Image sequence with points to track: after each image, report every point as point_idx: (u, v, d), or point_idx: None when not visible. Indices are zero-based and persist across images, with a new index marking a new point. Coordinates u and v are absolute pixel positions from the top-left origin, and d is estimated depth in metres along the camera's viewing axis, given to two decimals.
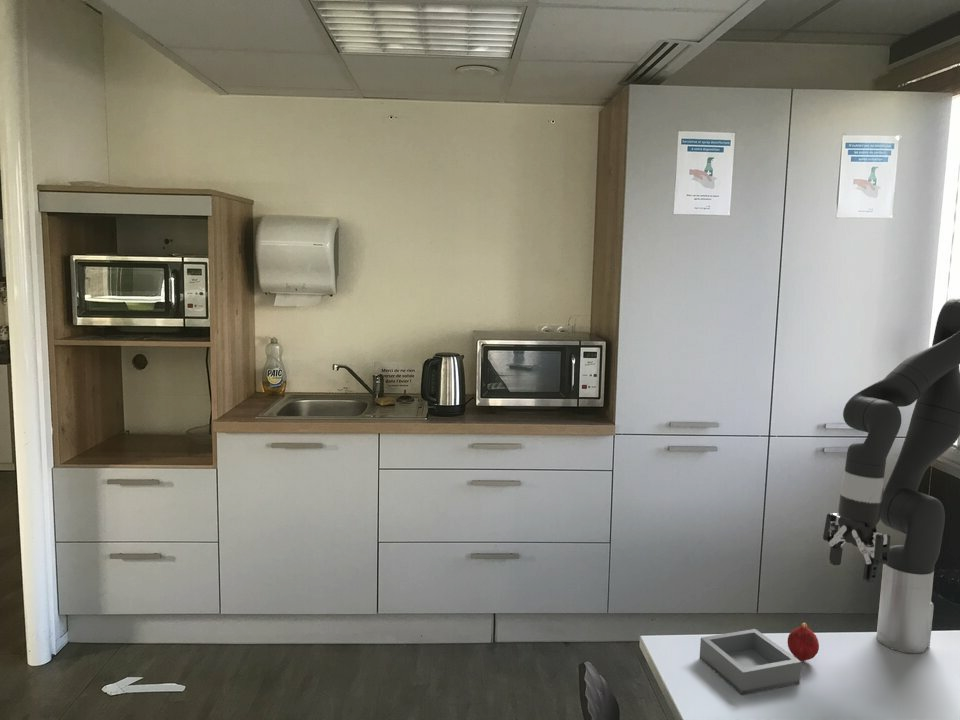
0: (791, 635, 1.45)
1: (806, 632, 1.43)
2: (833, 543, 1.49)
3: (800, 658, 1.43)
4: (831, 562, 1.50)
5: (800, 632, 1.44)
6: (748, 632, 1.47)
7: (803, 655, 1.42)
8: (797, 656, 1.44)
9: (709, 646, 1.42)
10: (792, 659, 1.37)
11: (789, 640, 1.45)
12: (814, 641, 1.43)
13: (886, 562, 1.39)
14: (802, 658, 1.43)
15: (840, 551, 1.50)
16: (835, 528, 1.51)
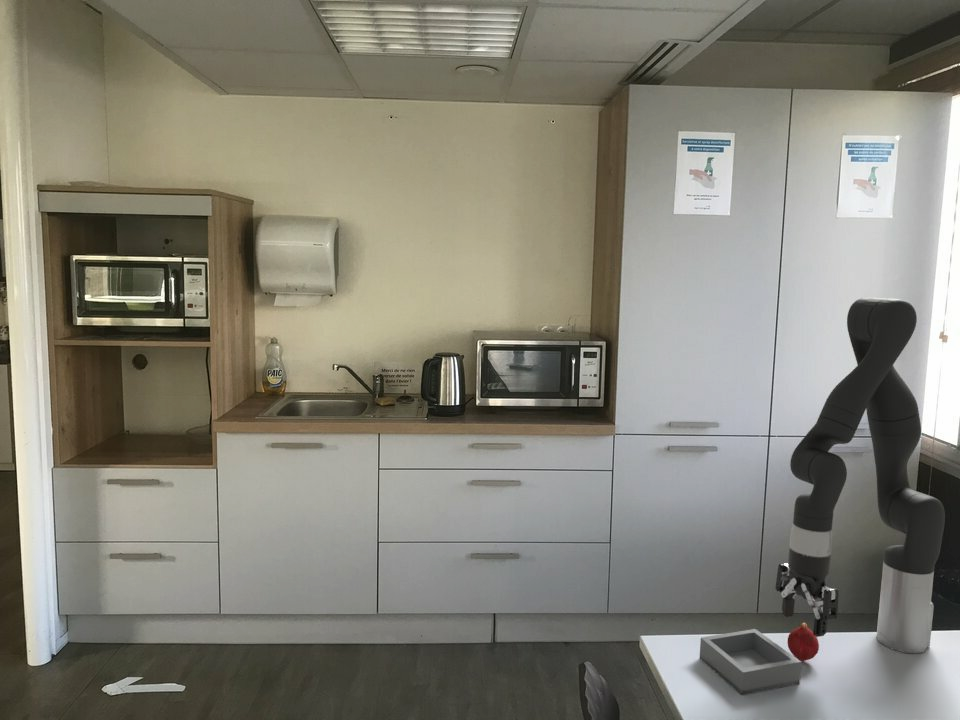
0: (791, 635, 1.45)
1: (805, 632, 1.43)
2: (785, 594, 1.47)
3: (800, 658, 1.43)
4: (783, 613, 1.48)
5: (800, 632, 1.44)
6: (748, 632, 1.47)
7: (803, 655, 1.42)
8: (797, 656, 1.44)
9: (709, 646, 1.42)
10: (792, 659, 1.37)
11: (789, 640, 1.45)
12: (814, 641, 1.43)
13: (835, 618, 1.37)
14: (802, 658, 1.43)
15: (792, 602, 1.48)
16: (787, 578, 1.49)
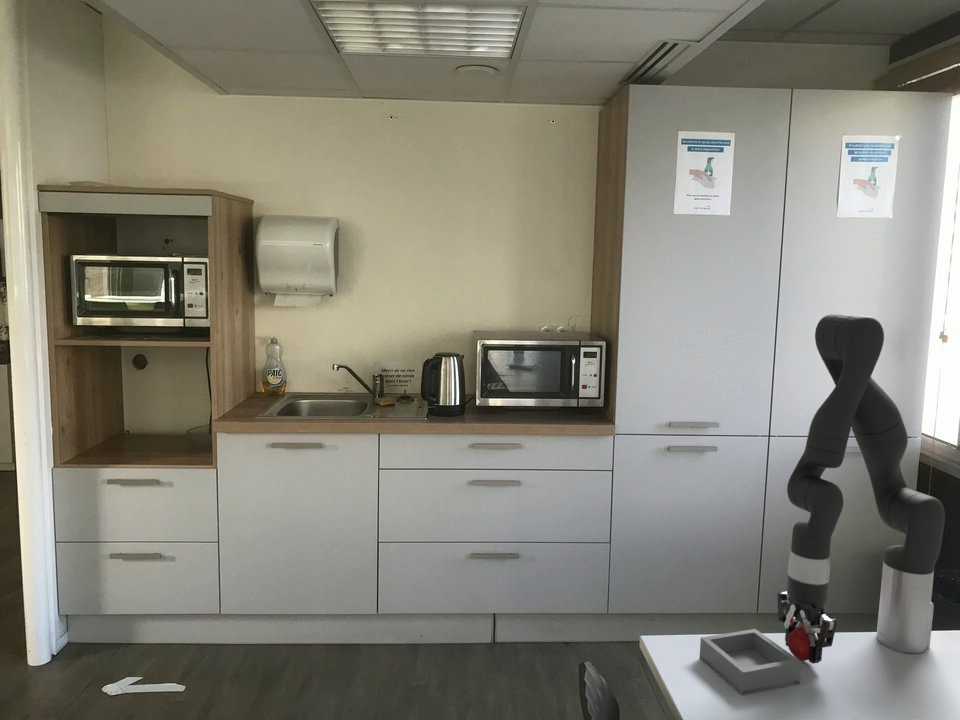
0: (791, 635, 1.45)
1: None
2: (788, 625, 1.47)
3: (800, 658, 1.43)
4: (787, 644, 1.48)
5: (800, 632, 1.44)
6: (748, 632, 1.47)
7: (803, 655, 1.42)
8: (797, 656, 1.44)
9: (709, 646, 1.42)
10: (792, 659, 1.37)
11: (789, 640, 1.45)
12: None
13: (829, 645, 1.39)
14: (802, 658, 1.43)
15: None
16: (788, 607, 1.49)
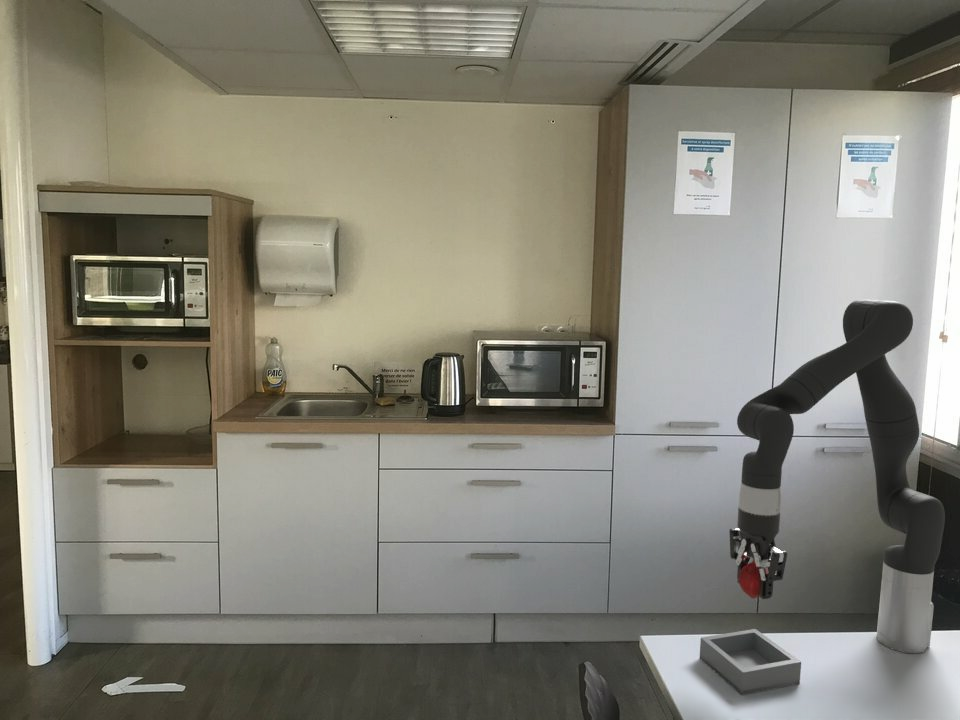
0: (742, 571, 1.39)
1: (756, 567, 1.37)
2: (739, 562, 1.41)
3: (751, 594, 1.38)
4: (738, 582, 1.42)
5: (751, 567, 1.38)
6: (748, 632, 1.47)
7: (753, 591, 1.37)
8: (748, 592, 1.38)
9: (709, 646, 1.42)
10: (792, 659, 1.37)
11: (740, 576, 1.39)
12: None
13: (780, 579, 1.33)
14: (753, 594, 1.37)
15: None
16: (740, 544, 1.43)
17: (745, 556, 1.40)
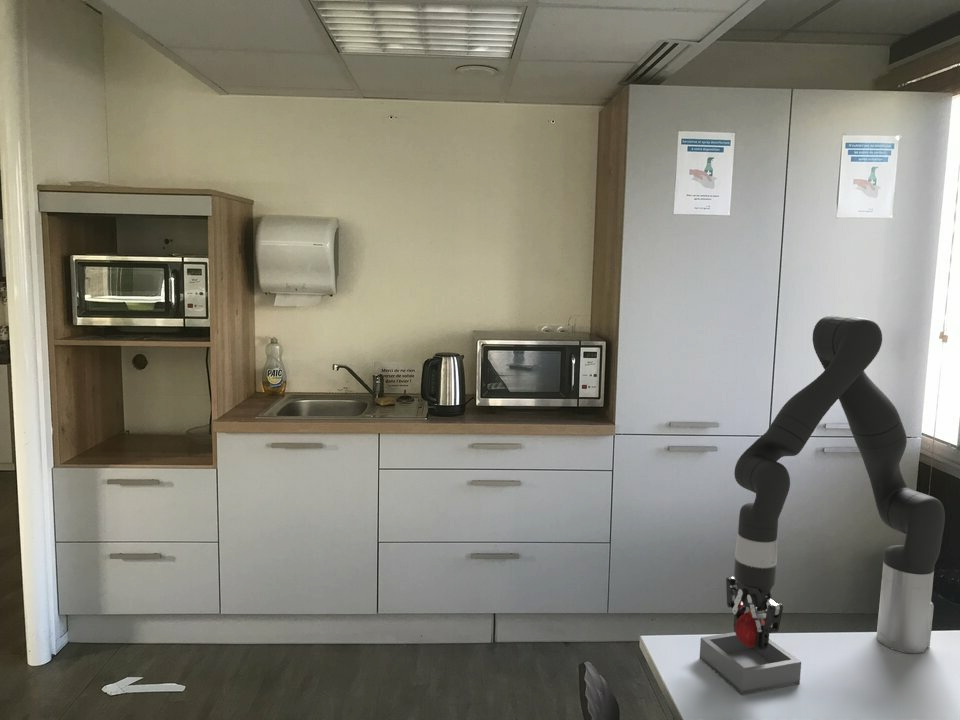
0: (738, 621, 1.40)
1: None
2: (736, 611, 1.43)
3: (747, 644, 1.39)
4: None
5: (747, 618, 1.39)
6: None
7: (749, 641, 1.38)
8: (744, 642, 1.39)
9: (709, 646, 1.42)
10: (792, 659, 1.37)
11: (736, 626, 1.40)
12: None
13: (776, 631, 1.35)
14: (749, 644, 1.39)
15: None
16: (737, 593, 1.45)
17: (741, 606, 1.42)
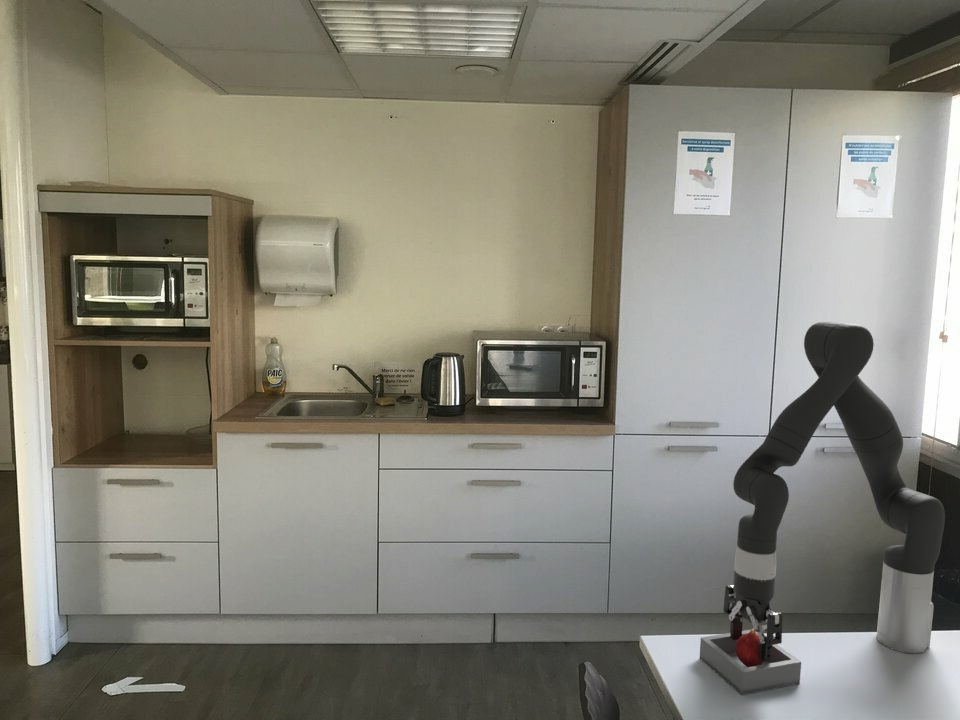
0: (739, 642, 1.40)
1: (753, 639, 1.39)
2: (732, 617, 1.44)
3: (747, 665, 1.39)
4: (731, 637, 1.44)
5: (748, 638, 1.39)
6: (748, 632, 1.47)
7: (749, 662, 1.38)
8: (744, 663, 1.39)
9: (709, 646, 1.42)
10: (792, 659, 1.37)
11: (737, 646, 1.40)
12: None
13: (779, 642, 1.34)
14: (749, 665, 1.39)
15: (740, 625, 1.44)
16: (735, 600, 1.45)
17: (739, 614, 1.43)
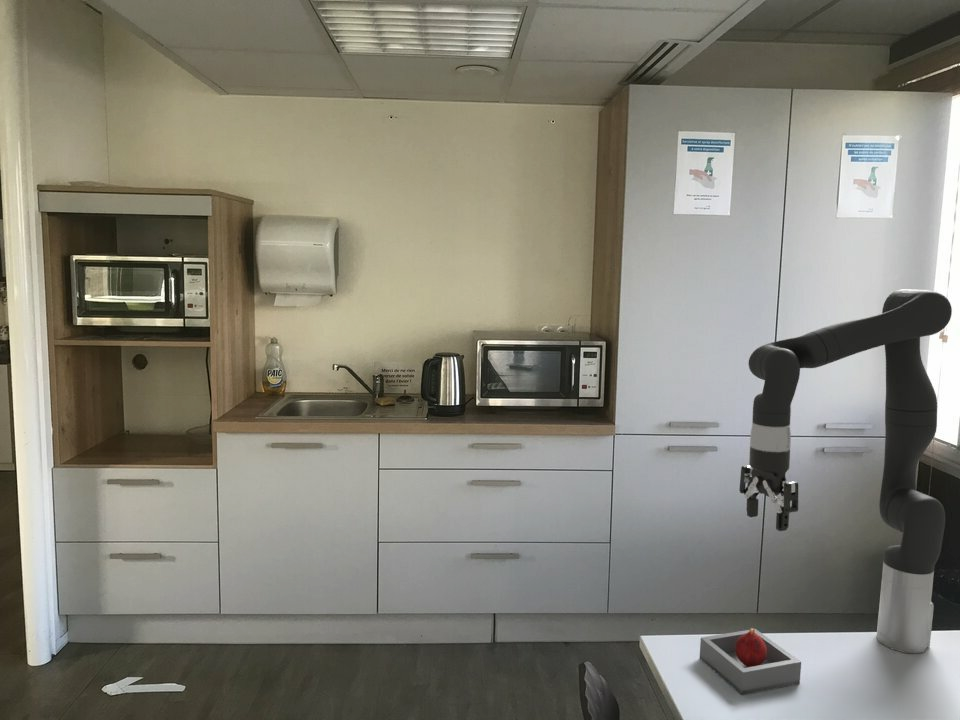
0: (738, 641, 1.40)
1: (753, 638, 1.39)
2: (748, 495, 1.49)
3: (747, 665, 1.39)
4: (748, 514, 1.49)
5: (747, 638, 1.39)
6: None
7: (749, 662, 1.38)
8: (744, 663, 1.39)
9: (709, 646, 1.42)
10: (792, 659, 1.37)
11: (736, 646, 1.41)
12: (761, 647, 1.38)
13: (795, 510, 1.39)
14: (749, 665, 1.39)
15: (756, 503, 1.49)
16: (750, 480, 1.51)
17: (755, 491, 1.48)
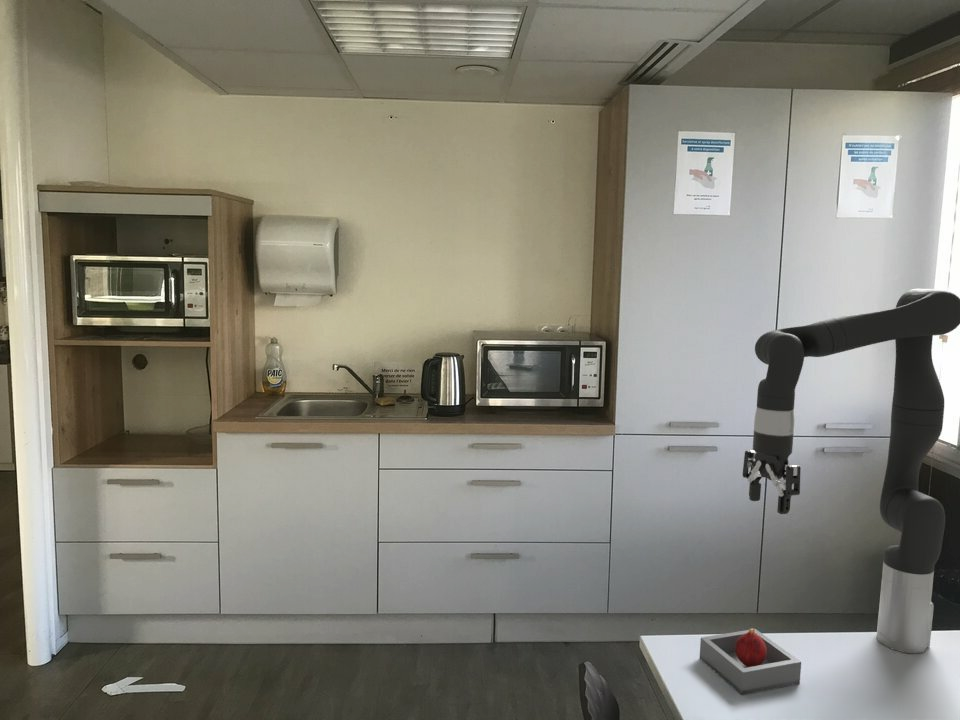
0: (738, 641, 1.40)
1: (752, 638, 1.39)
2: (751, 479, 1.51)
3: (747, 665, 1.39)
4: (750, 498, 1.51)
5: (747, 638, 1.39)
6: None
7: (749, 662, 1.38)
8: (744, 663, 1.39)
9: (709, 646, 1.42)
10: (792, 659, 1.37)
11: (736, 646, 1.41)
12: (761, 647, 1.38)
13: (797, 493, 1.41)
14: (749, 665, 1.39)
15: (759, 487, 1.51)
16: (753, 465, 1.53)
17: (757, 475, 1.50)
